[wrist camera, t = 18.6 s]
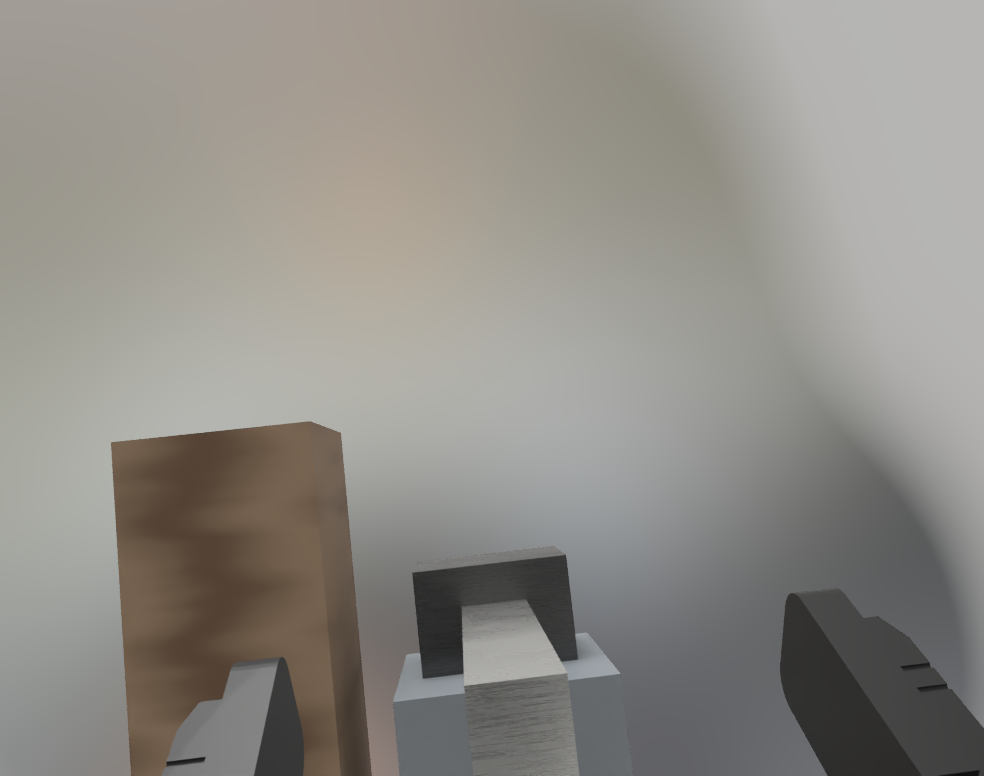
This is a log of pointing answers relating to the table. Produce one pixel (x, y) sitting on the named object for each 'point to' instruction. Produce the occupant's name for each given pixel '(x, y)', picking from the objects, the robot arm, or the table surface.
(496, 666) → the blocky hammer
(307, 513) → the tall wooden post
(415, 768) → the grey tall block
